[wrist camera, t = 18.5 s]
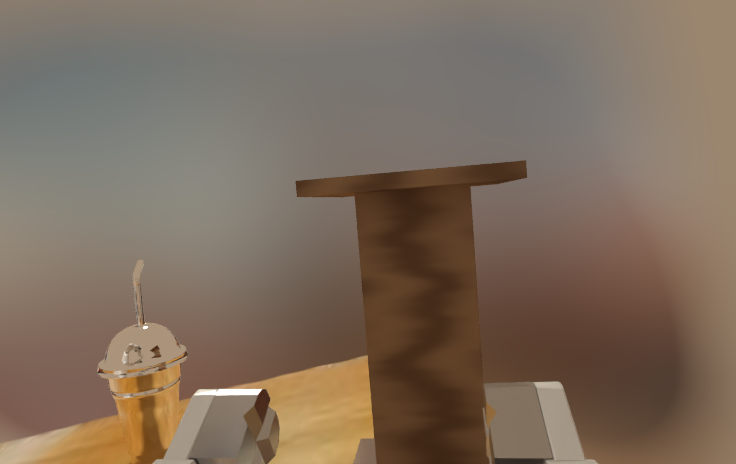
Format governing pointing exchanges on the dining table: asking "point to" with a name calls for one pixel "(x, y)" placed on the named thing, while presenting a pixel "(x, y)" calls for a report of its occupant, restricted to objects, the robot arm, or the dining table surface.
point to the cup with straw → (145, 382)
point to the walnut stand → (420, 309)
